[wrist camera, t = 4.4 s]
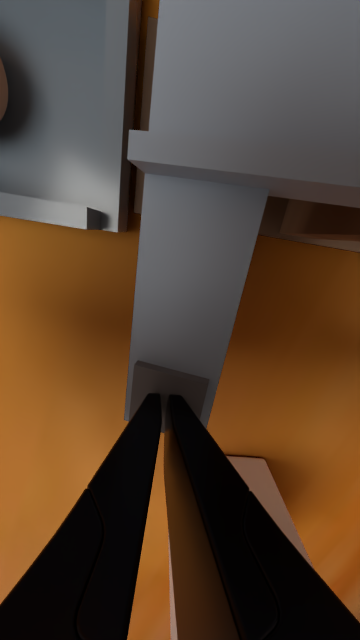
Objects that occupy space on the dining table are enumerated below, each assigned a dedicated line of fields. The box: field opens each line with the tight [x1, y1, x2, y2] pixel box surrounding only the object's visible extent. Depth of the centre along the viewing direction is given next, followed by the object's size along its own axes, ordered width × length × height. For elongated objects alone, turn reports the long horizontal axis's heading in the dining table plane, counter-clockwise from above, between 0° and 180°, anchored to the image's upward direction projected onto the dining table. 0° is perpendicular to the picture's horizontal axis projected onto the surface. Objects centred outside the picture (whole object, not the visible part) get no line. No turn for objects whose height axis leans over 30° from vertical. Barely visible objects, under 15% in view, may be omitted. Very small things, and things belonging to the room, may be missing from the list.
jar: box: [168, 456, 314, 640], centre depth 12 cm, size 9×8×12 cm
